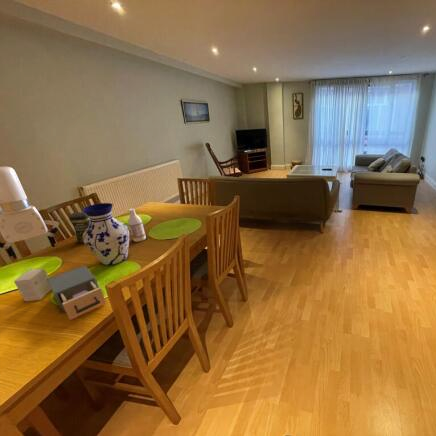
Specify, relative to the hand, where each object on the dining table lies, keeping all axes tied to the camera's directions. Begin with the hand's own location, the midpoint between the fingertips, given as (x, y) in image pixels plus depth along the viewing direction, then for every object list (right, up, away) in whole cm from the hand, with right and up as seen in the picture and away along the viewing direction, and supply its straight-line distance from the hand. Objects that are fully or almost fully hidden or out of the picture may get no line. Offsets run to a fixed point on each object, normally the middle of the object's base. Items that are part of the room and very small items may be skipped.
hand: (35, 251), depth 84 cm
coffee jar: (-35, -2, +64) cm, 73 cm away
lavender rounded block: (+9, -22, +10) cm, 26 cm away
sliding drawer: (+9, -23, +10) cm, 27 cm away
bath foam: (-4, -2, +65) cm, 65 cm away
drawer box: (0, -21, +17) cm, 27 cm away
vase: (-4, -11, +43) cm, 45 cm away
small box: (-17, -21, +18) cm, 33 cm away
